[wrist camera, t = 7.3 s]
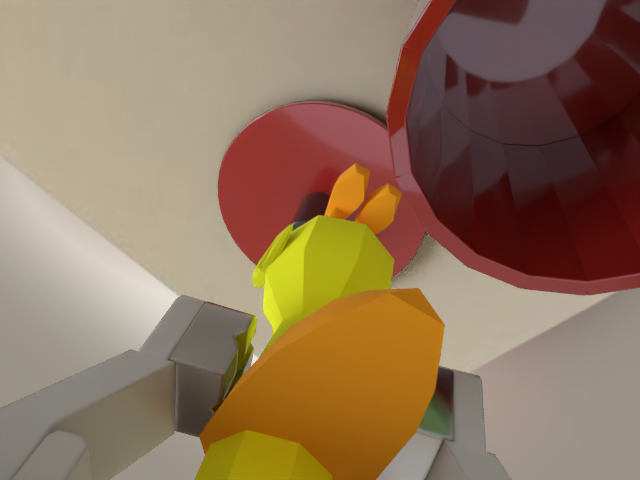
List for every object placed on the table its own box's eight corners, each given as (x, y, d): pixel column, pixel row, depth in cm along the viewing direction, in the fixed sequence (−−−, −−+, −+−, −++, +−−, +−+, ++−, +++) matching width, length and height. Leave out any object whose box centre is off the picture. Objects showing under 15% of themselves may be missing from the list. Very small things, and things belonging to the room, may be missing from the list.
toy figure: (375, 63, 13) (155, 528, 3) (493, 137, 14) (611, 760, 4) (263, 247, 17) (0, 730, 7) (358, 301, 17) (236, 834, 7)
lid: (219, 258, 41) (191, 299, 37) (229, 75, 33) (196, 100, 29) (400, 304, 40) (394, 353, 36) (456, 125, 32) (457, 160, 28)
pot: (389, 126, 33) (354, 248, 21) (453, -140, 25) (452, -177, 14) (610, 176, 32) (699, 333, 20) (745, -89, 24) (1013, -81, 13)
